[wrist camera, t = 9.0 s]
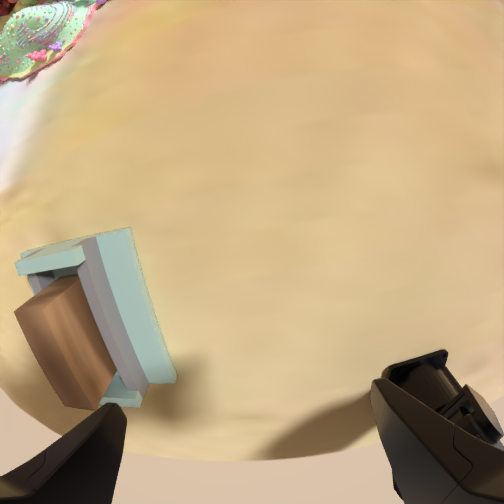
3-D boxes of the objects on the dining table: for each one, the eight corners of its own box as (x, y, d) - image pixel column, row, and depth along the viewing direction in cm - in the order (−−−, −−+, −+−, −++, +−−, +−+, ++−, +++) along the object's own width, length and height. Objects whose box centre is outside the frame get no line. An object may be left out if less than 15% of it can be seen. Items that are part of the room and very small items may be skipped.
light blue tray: (130, 226, 19) (104, 243, 15) (177, 375, 23) (167, 408, 19) (27, 250, 20) (-3, 266, 16) (78, 374, 24) (61, 399, 20)
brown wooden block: (88, 271, 19) (42, 310, 13) (122, 360, 21) (95, 410, 16) (59, 276, 19) (13, 311, 14) (94, 360, 22) (65, 406, 16)
